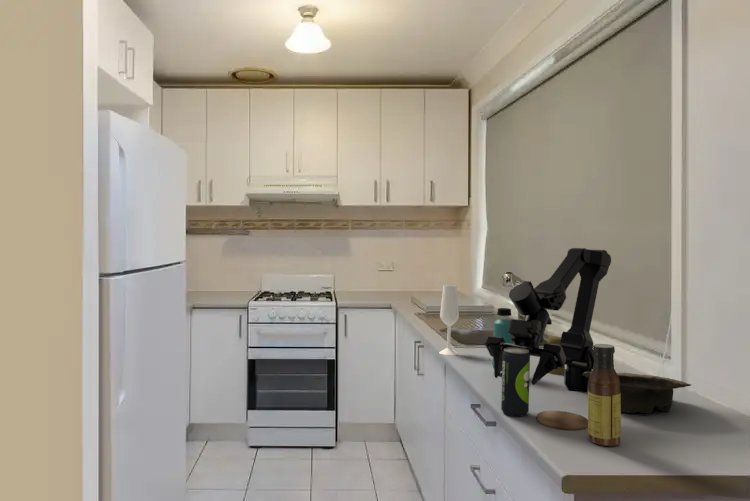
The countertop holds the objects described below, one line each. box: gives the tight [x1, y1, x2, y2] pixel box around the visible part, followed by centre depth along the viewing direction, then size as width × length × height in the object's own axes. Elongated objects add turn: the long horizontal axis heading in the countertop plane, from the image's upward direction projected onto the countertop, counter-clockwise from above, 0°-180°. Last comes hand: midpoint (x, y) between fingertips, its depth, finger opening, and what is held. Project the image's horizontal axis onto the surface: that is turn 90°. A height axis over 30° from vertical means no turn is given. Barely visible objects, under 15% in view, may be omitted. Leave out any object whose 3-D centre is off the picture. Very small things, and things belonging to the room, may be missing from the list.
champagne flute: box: [438, 284, 460, 356], centre depth 202 cm, size 7×7×24 cm
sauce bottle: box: [587, 343, 622, 447], centre depth 116 cm, size 6×6×20 cm
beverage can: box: [500, 348, 531, 418], centre depth 134 cm, size 6×6×15 cm
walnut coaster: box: [536, 410, 588, 431], centre depth 128 cm, size 11×11×1 cm
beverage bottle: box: [492, 307, 515, 372], centre depth 172 cm, size 6×7×20 cm
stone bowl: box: [582, 371, 693, 414], centre depth 143 cm, size 25×25×9 cm
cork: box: [546, 335, 566, 375], centre depth 176 cm, size 6×6×11 cm
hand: (513, 380), depth 133 cm, fingers open, 9 cm apart
